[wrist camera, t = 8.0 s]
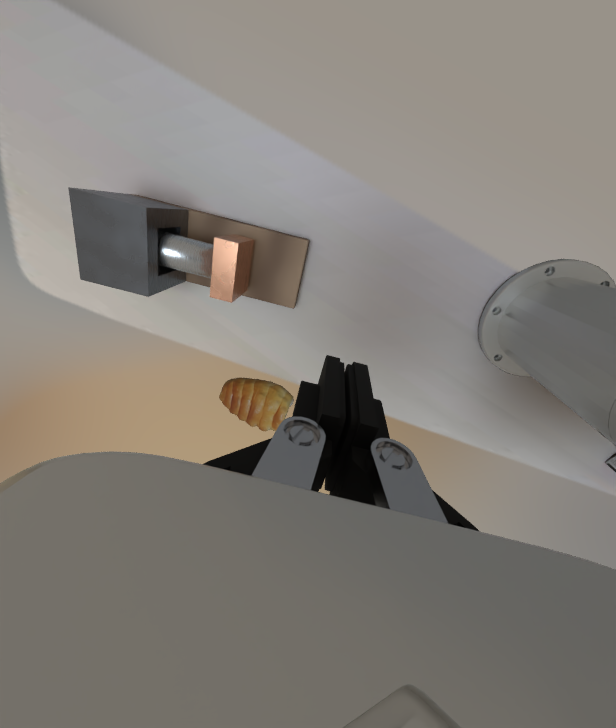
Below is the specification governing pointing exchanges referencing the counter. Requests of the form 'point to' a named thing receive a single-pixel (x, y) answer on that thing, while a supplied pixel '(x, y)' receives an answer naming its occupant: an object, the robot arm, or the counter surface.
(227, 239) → the shaft
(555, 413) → the counter surface
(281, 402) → the pastry
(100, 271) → the shaft frame
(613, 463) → the candy bar box
